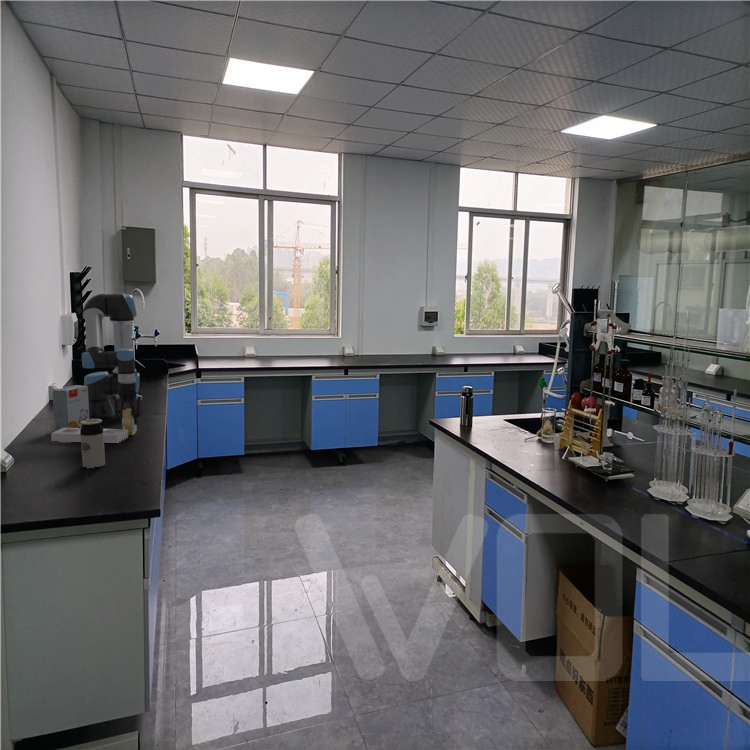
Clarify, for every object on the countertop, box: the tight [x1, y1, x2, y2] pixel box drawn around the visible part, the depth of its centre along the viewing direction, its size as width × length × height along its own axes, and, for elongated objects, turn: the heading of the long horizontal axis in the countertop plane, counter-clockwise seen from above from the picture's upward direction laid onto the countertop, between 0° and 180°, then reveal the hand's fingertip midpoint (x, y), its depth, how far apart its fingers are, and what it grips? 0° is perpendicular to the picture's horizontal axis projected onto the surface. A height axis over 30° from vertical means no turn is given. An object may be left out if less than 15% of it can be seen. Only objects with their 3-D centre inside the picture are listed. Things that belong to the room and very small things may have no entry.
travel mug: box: [80, 419, 106, 469], centre depth 221 cm, size 8×8×18 cm
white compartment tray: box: [50, 427, 129, 444], centre depth 258 cm, size 10×30×4 cm, turn 87°
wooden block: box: [122, 408, 137, 436], centre depth 268 cm, size 4×4×12 cm
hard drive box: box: [52, 384, 89, 432], centre depth 277 cm, size 16×8×20 cm, turn 168°
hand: (129, 430), depth 268 cm, fingers closed on wooden block, 4 cm apart
